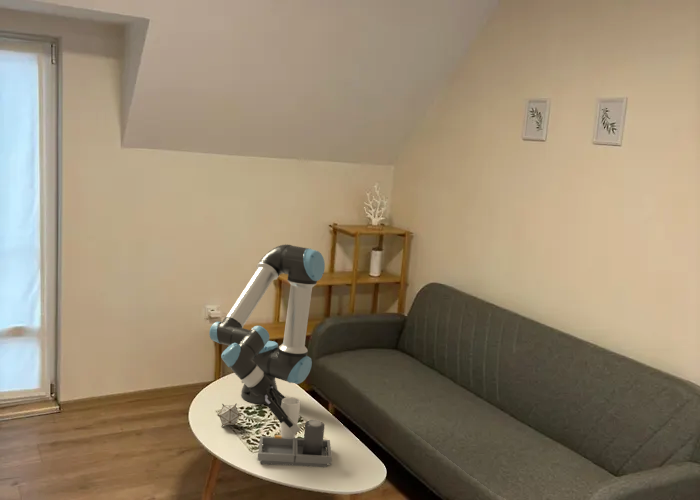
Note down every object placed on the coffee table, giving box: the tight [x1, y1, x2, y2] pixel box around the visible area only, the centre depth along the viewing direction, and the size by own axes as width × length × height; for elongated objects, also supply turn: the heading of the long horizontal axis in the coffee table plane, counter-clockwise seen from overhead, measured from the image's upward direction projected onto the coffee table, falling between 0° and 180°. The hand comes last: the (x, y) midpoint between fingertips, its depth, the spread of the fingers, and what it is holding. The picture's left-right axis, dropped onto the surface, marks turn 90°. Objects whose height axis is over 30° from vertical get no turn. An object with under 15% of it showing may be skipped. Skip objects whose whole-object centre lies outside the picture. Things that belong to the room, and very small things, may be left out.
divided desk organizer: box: [257, 418, 333, 468], centre depth 222 cm, size 13×24×13 cm, turn 95°
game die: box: [216, 403, 242, 428], centre depth 240 cm, size 9×8×10 cm
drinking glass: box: [279, 396, 301, 438], centre depth 233 cm, size 7×7×15 cm
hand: (297, 425), depth 234 cm, fingers open, 9 cm apart
